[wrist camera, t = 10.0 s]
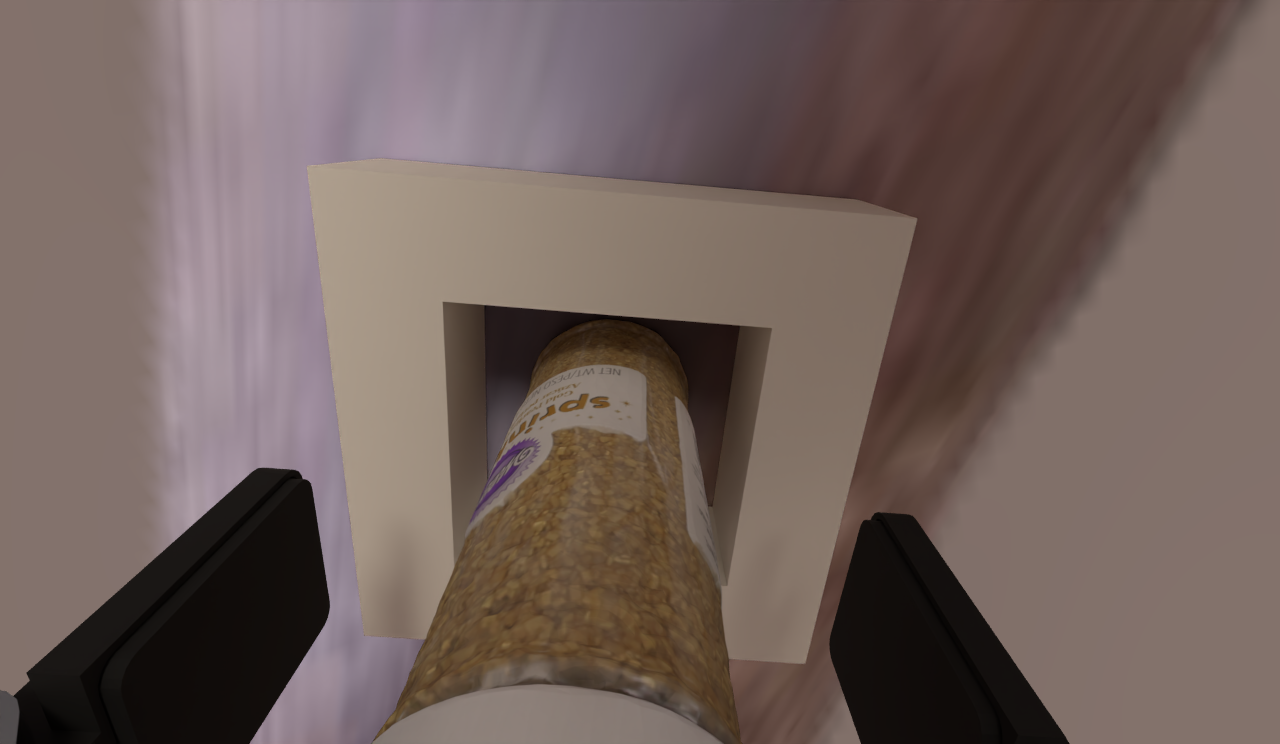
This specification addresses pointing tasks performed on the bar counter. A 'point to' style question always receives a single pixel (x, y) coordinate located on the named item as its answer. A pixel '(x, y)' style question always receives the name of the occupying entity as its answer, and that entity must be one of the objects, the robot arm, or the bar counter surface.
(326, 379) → the bar counter surface
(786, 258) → the collar
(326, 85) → the bar counter surface
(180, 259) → the bar counter surface
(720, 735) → the sprinkles bottle
